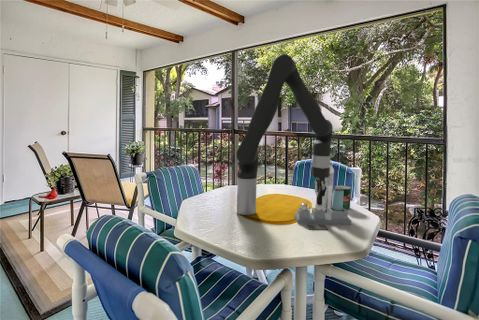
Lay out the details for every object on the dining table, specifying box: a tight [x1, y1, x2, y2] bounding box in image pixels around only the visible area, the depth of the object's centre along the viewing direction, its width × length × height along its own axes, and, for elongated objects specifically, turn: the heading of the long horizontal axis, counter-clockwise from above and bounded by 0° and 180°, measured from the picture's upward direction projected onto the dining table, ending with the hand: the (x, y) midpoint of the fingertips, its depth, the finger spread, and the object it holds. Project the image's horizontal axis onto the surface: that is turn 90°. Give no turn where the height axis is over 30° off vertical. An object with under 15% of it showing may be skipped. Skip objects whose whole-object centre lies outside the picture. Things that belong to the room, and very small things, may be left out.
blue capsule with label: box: [332, 187, 344, 211], centre depth 133 cm, size 4×4×13 cm
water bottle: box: [322, 164, 335, 213], centre depth 148 cm, size 7×7×25 cm
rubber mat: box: [306, 224, 329, 231], centre depth 126 cm, size 8×5×1 cm, turn 88°
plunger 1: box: [300, 202, 308, 210], centre depth 133 cm, size 3×3×5 cm
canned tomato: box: [334, 184, 352, 211], centre depth 154 cm, size 8×8×11 cm
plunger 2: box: [314, 203, 322, 211], centre depth 133 cm, size 3×3×5 cm
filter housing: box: [294, 207, 352, 226], centre depth 134 cm, size 23×9×6 cm, turn 88°
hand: (319, 204), depth 133 cm, fingers closed
